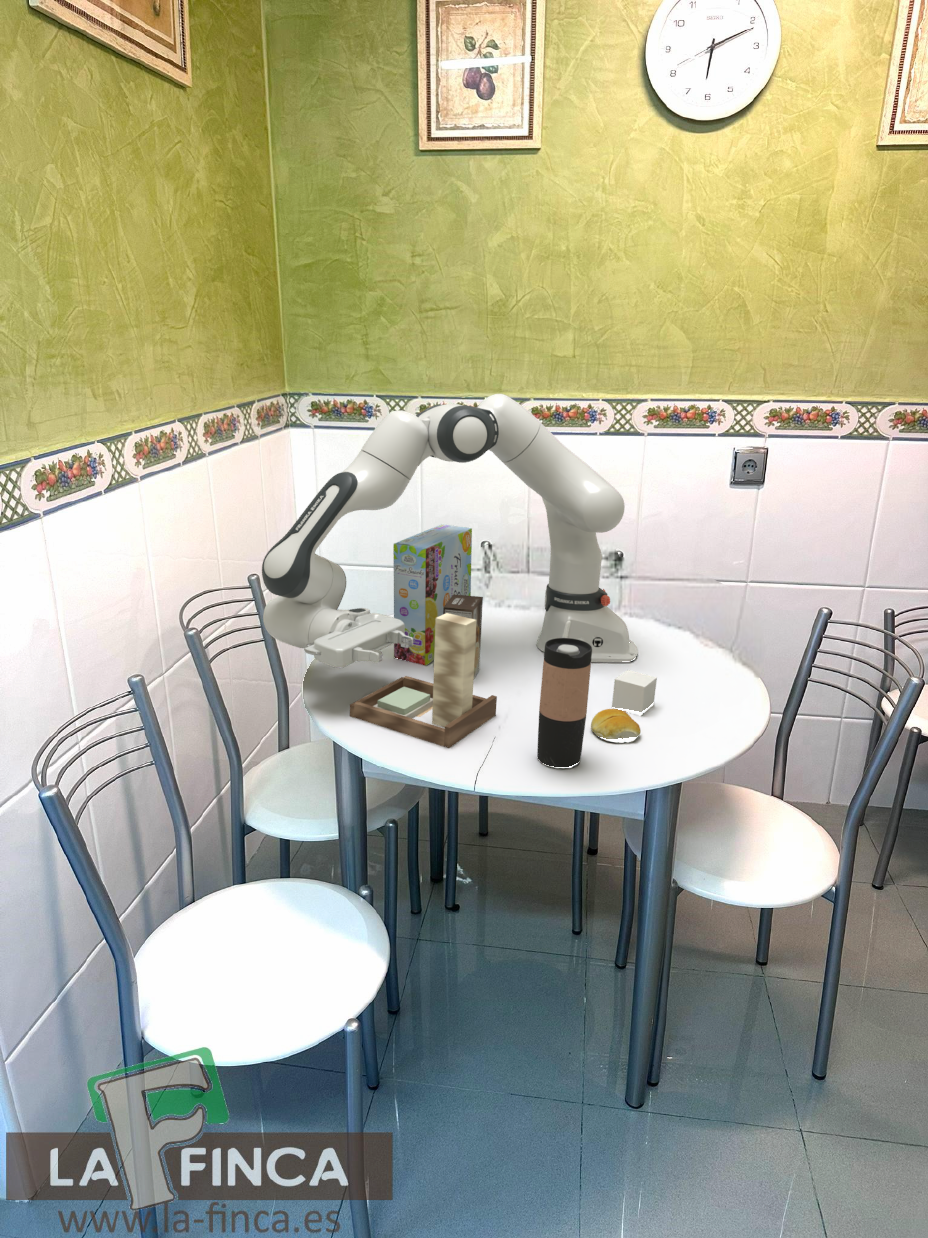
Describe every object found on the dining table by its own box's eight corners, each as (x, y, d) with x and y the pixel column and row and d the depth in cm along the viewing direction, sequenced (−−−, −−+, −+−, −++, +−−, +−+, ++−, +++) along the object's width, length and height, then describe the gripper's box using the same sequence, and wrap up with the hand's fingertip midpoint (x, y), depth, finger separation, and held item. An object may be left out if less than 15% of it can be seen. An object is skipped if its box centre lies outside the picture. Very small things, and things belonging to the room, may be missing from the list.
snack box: (437, 630, 198) (441, 522, 190) (471, 637, 194) (476, 527, 186) (389, 659, 179) (391, 540, 171) (425, 667, 176) (429, 546, 167)
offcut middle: (372, 712, 153) (372, 706, 153) (403, 695, 161) (403, 689, 160) (404, 723, 150) (404, 716, 149) (434, 704, 157) (434, 699, 157)
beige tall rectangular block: (432, 724, 150) (435, 617, 144) (442, 718, 153) (446, 612, 146) (460, 733, 147) (465, 625, 141) (471, 726, 150) (476, 619, 144)
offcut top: (377, 706, 153) (377, 700, 152) (403, 692, 159) (403, 686, 159) (404, 715, 150) (404, 709, 149) (430, 700, 156) (430, 694, 156)
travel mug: (547, 744, 145) (556, 634, 138) (589, 756, 141) (600, 644, 135) (527, 761, 138) (536, 647, 132) (570, 775, 135) (581, 658, 128)
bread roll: (624, 721, 155) (627, 701, 154) (645, 743, 147) (648, 722, 146) (582, 723, 154) (584, 703, 152) (601, 746, 145) (603, 725, 144)
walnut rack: (349, 717, 151) (349, 696, 150) (401, 688, 164) (401, 669, 163) (449, 749, 141) (449, 727, 140) (495, 716, 154) (496, 696, 153)
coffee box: (449, 666, 177) (452, 593, 172) (479, 670, 176) (483, 596, 170) (439, 683, 168) (442, 606, 163) (471, 686, 167) (475, 609, 162)
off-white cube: (624, 698, 165) (627, 669, 163) (653, 706, 162) (657, 677, 160) (611, 708, 160) (614, 678, 159) (641, 716, 157) (644, 687, 155)
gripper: (298, 632, 149) (360, 649, 143) (368, 605, 166) (427, 619, 159) (298, 665, 151) (360, 684, 145) (368, 635, 168) (426, 651, 161)
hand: (396, 650), depth 152 cm, fingers open, 8 cm apart
